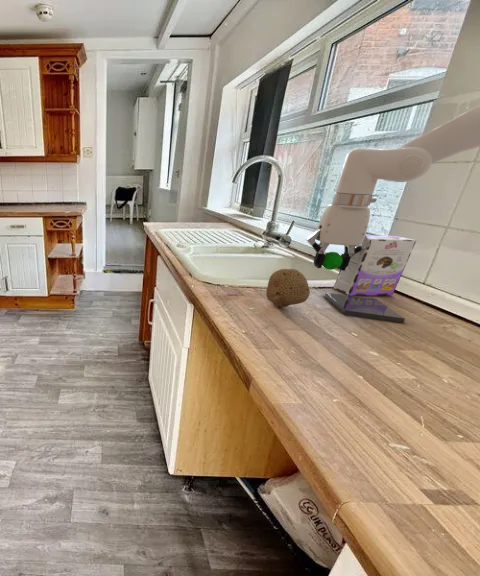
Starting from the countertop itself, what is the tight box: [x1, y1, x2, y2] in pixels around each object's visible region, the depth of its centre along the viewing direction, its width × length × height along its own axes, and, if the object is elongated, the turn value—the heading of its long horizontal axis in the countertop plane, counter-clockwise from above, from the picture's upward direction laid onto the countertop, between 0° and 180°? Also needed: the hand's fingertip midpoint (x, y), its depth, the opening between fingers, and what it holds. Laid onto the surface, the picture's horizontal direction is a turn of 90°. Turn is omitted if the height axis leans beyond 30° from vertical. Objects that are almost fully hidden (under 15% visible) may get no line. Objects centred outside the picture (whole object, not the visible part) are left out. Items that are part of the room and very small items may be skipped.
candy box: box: [333, 234, 417, 296], centre depth 86 cm, size 14×6×16 cm, turn 94°
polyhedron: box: [322, 251, 343, 271], centre depth 85 cm, size 5×5×5 cm
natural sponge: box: [265, 268, 311, 308], centre depth 75 cm, size 9×9×10 cm
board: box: [324, 292, 406, 324], centre depth 78 cm, size 12×12×1 cm
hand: (329, 267), depth 86 cm, fingers closed on polyhedron, 5 cm apart
